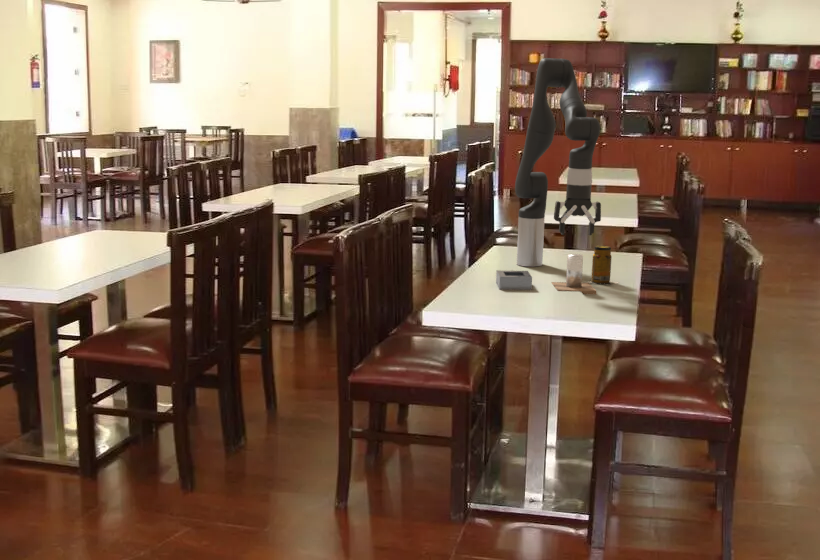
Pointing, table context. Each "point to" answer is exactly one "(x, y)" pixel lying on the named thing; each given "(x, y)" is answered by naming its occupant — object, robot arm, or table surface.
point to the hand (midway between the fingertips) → (576, 234)
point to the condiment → (602, 266)
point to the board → (584, 289)
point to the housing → (513, 280)
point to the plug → (574, 270)
